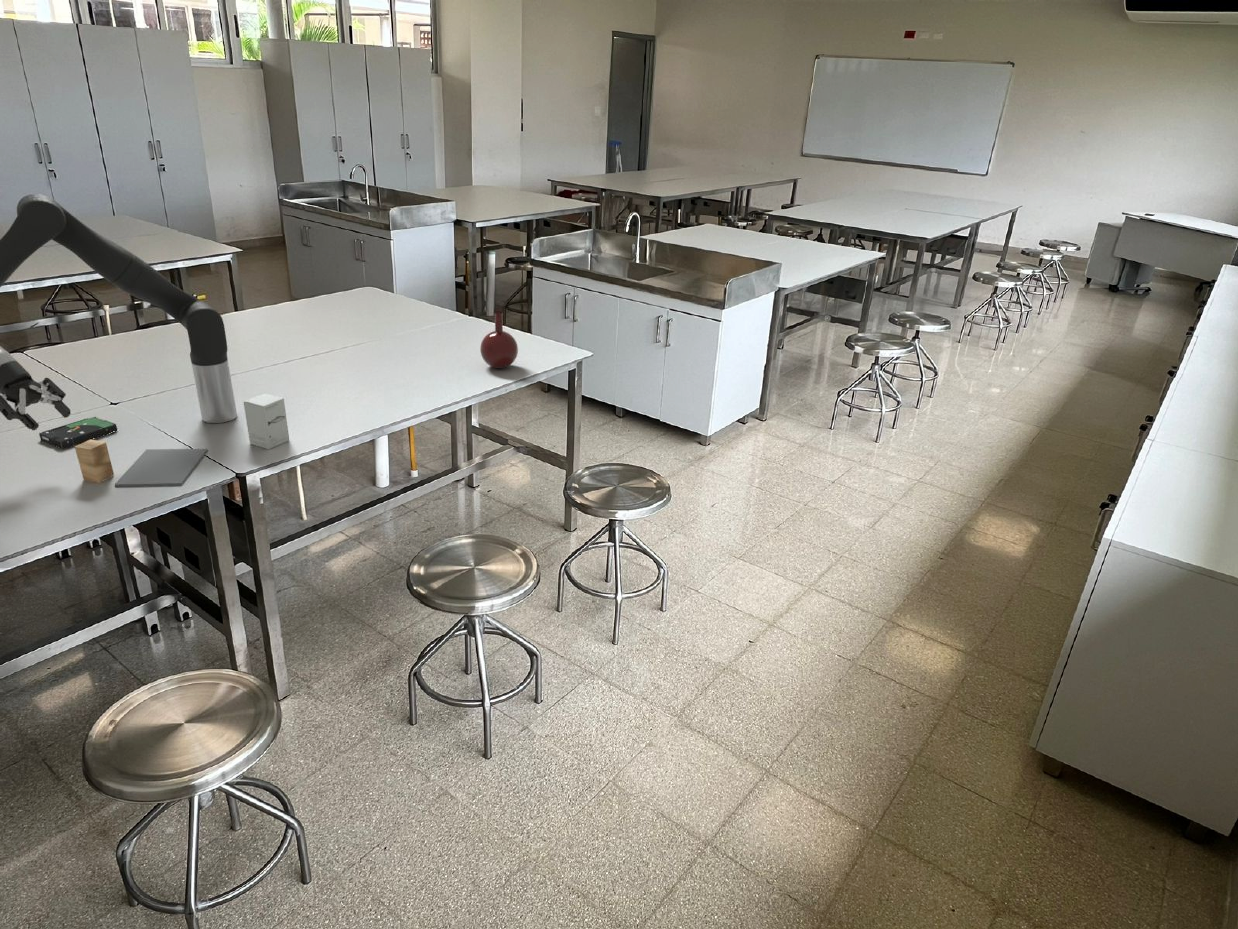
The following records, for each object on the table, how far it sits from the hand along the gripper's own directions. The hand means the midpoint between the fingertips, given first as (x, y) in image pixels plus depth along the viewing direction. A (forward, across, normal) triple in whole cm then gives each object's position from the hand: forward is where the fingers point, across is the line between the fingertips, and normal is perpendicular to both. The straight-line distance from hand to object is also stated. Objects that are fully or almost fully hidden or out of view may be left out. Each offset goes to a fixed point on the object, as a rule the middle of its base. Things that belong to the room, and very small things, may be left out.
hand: (52, 421), depth 190 cm
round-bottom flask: (+56, +116, -37) cm, 134 cm away
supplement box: (+33, +32, -14) cm, 49 cm away
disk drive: (0, +18, +20) cm, 27 cm away
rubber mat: (+23, +10, -5) cm, 26 cm away
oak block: (+16, 0, +2) cm, 17 cm away
